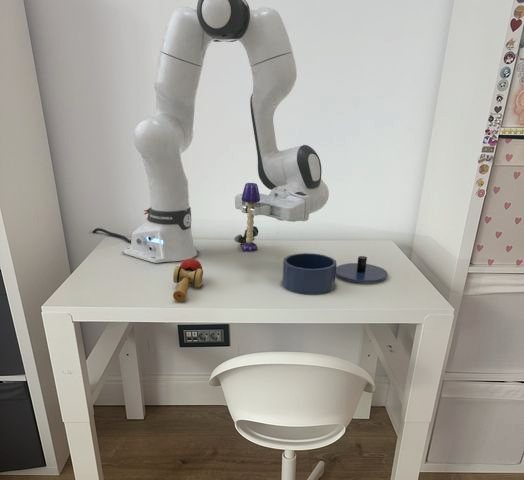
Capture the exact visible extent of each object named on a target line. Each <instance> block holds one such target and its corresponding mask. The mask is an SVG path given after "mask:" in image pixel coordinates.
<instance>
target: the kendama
mask: <svg viewBox="0 0 524 480" xmlns="http://www.w3.org/2000/svg"><path fill="white" fill-rule="evenodd" d="M203 276H204V269H203V266H202V264H201V262H200V261H199V260H197V259H195V258H190V259H186V260H182V262H181V264H180V265H176V266H175V267H174V271H173V277H172V281H173V283H174V284H178V285H177V287H176V288H175V290H174V291H173V293H172V298H173V299H174V301H176V302H177V303H182V302H184V301H185V299H186V296H187V291H188V289H189V284H190V283H191V284H192V285H193V286H194V287H195V288H201V286H202V282H203V278H204V277H203Z"/></svg>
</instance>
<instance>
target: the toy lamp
mask: <svg viewBox="0 0 524 480" xmlns="http://www.w3.org/2000/svg"><path fill="white" fill-rule="evenodd" d="M259 193H260V191H259V185H258V184H257V183H255V182H246V183H245V184H244V187H243V191H242V193H241V194H242V198H241V199H242V201H244V202H248V203H247V205H248V209H247V212H248V213H246V215H247V216H246V218H247V220H246V224H247V225H246V230H247V233H246V235H247V238H246V243H244V244H243V245H241V248H240V249H241V251H242V252H245V253H255V252H257V251H258V250H259V249H258V245H257V244H256V243H254V240H253V238H252V237H253V226H254V225H255V224H254V223H255V220H254V218H255V216H254V215H251V214H250V212H251V211H250V209H251V208H252V207H254V203H255V202H259V201H260V195H259Z"/></svg>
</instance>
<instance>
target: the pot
mask: <svg viewBox="0 0 524 480" xmlns="http://www.w3.org/2000/svg"><path fill="white" fill-rule="evenodd" d="M337 266H338V265H337V260H336V259H335V258H333V257H331V256H328V255H326V254H319V253H313V252H312V253H308V252H305V253H303V252H302V253H294V254H289V255H287V256H285V257H284V258H283V263H282V286H283V288H284V289H286V291H290V292H292V293H295V294H302V295H322V294H326V293H329V292H332V291H333V290H334V289H335V286H336V276H337V275H336V267H337Z"/></svg>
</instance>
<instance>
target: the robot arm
mask: <svg viewBox="0 0 524 480" xmlns="http://www.w3.org/2000/svg"><path fill="white" fill-rule="evenodd" d="M237 41H238V42H240V44H241V45H242V46H243V48H244V50H245V52H246V55H247V58H248V63H249V66H250V71H251V76H252V93H251V95H250V97H249V98H250V100H249V108H250V115H251V123H252V129H253V135H254V142H255V148H256V149H255V150H256V155H257V174H258V175H257V176H258V178H259V180H260V182H261V183H262V185H263V186H264V187H266V188H267V189H268V190H270V192H269V194H265V193H260V192H259V195H260V201H259V202H255V203H254V207H252V208H251V209H250V211H251V212H250V214H251V215H254V217H255V216H265V217H270V218H273V219H276V220H277V221H282V222H284V221H285V222H306V221H307V222H308V221H309V218H310V215H311V214H313V213H316V212H318V211H320V210H321V209H322V208H324V206H325V205H326V204H327V202H328V201H329V196H330V192H329V187H328V185H327V184H326V182H324V180H323V179H322V172H323V171H322V163H321V159H320V157H319V154H318V153H317V151H316V150H315V149H314V148H313V147H312V146H310V145H308V144H303V145H298V146H293V147H290V148H286V149H283V150H279V149H278V146H277V139H276V132H275V131H276V130H275V123H274V115H275V112H276V110H277V108H278V106H280V104H282V102H283V101H284V100H285V99H286V98H287V97H288V96H289V95H290V94H291V92H292V90H293V89H294V86H295V85H296V82H297V78H298V77H297V76H298V75H297V74H298V73H297V71H298V70H297V65H296V60H295V55H294V51H293V48H292V44H291V41H290V37H289V34H288V32H287V29H286V26H285V23H284V21H283V19H282V17H281V14H280V13H279V12H278V11H277V10H276V9H275V8H272V7H266V6H265V7H260V8H257V9H251V8H250V6H249V3H248V2H247V0H197V4H196V8H193V7H190V6H189V7H188V6H180V7H179V6H178V7H177V8H175V9H174V10H173V11H172V12H171V14H170V16H169V19H168V21H167V24H166V27H165V29H164V33H163V37H162V40H161V44H160V51H159V55H158V61H157V65H156V71H155V77H154V82H153V86H154V90H155V112H154V114H153V115H149V116H146V117H145V118H143V119H142V120H141V121H140V122H139V123H138V124H137V125H136V127H135V128H134V132H133V143H134V146H135V148H136V150H137V152H138V153H139V154H140V157H141V158H142V162H143V165H144V169H145V172H146V177H147V181H148V188H149V190H148V191H149V199H150V207H149V208H148V209H145V210H143V215H147V218H146V220H145V221H144V222H142V224H140V226H138V227H137V228H136V229H134V231H132V233H131V236H130V239H129V238H128V237H126V235H125V236H124V235H122V234H119V233H115V232H111V231H109V230H106V229H104V228H102V227H97V228H95V229H93V230H92V232H91V233H92V234H95V233H97V232H102V233H104V234H107V235H110V236H113V237H117V238H120V239H123V240H124V241H125V242H127V243H129V244H130V245H129V246H127V247H125V248H124V249H123V254H125V255H127V256H131V257H133V258H137V259H141V260H144V261H147V262H151V263H154V264H161V263H166V262H169V263H170V262H181V261H182V262H183V261H184V260H186V259H190V258H192V259H194V258H195V257H196V256H198V252H197V249H196V245H195V242H194V238H193V233H192V207H191V206H190V195H189V179H188V177H187V175H186V173H185V170H184V166H183V162H182V154H183V153H184V152H186V151H187V150H188V149H189V148H190V147H191V144H192V143H193V139H194V120H195V106H196V98H197V93H198V88H199V85H200V80H201V74H202V71H203V66H204V61H205V57H206V54H207V51H208V48H209V46H210V44H211V43H212V42H214V43H234V42H237ZM242 194H243V193H238V194H236V195H235V196H234V208H235V209H236V210H240V211H241V213H242V214H248V212H247V209H248V205H247V203H248V202H244V201H242V199H241V198H242Z"/></svg>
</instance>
